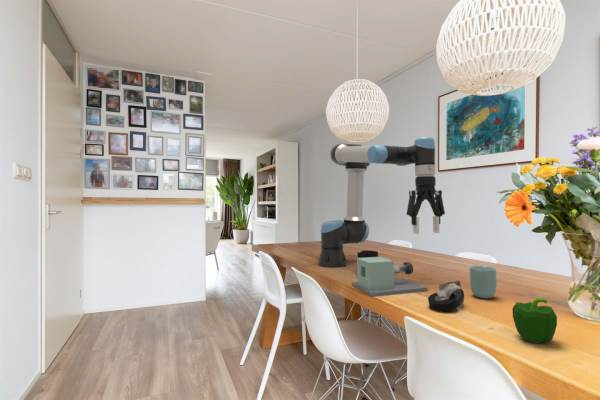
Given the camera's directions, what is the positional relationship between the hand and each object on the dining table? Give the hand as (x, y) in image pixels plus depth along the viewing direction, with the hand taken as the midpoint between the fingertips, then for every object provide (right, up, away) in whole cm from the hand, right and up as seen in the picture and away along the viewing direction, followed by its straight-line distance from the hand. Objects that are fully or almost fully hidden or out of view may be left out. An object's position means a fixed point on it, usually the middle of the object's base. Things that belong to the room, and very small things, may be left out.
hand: (426, 232), depth 124 cm
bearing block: (-17, -21, -5) cm, 27 cm away
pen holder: (-19, -21, +20) cm, 35 cm away
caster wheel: (-5, -20, -28) cm, 35 cm away
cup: (+12, -20, -18) cm, 30 cm away
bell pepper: (+5, -20, -51) cm, 55 cm away
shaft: (-15, -16, -4) cm, 22 cm away
